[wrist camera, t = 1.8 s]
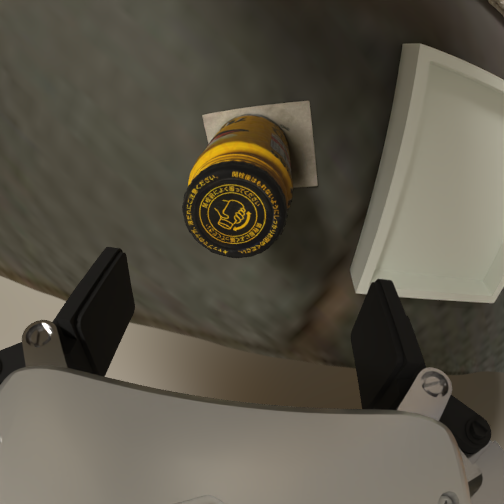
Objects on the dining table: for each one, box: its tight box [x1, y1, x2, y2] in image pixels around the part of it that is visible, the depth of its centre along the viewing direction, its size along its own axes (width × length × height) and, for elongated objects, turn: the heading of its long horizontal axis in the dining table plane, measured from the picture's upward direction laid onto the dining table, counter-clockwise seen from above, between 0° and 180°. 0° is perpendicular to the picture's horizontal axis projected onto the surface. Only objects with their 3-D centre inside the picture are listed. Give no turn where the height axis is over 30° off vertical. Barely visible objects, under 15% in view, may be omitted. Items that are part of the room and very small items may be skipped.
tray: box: [350, 43, 504, 303], centre depth 24 cm, size 22×18×4 cm
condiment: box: [182, 101, 318, 258], centre depth 21 cm, size 7×8×12 cm
